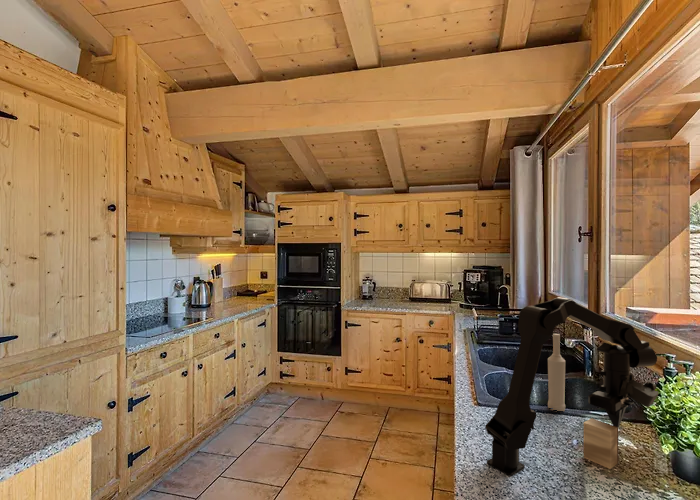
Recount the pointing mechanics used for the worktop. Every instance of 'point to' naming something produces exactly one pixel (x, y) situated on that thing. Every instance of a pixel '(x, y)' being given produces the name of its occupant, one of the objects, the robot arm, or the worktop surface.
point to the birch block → (601, 443)
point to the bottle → (556, 377)
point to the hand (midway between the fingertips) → (616, 426)
